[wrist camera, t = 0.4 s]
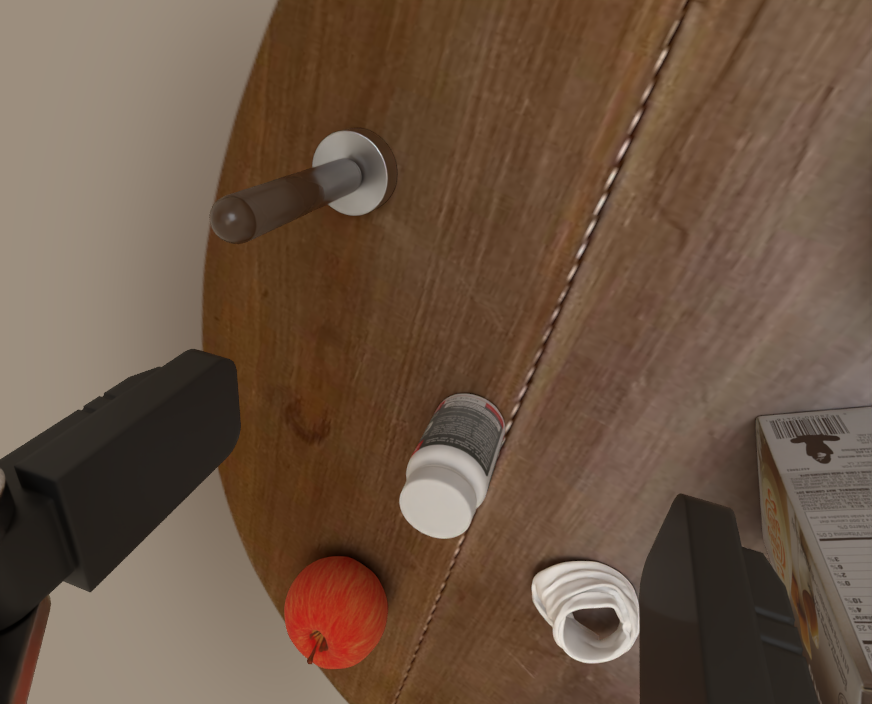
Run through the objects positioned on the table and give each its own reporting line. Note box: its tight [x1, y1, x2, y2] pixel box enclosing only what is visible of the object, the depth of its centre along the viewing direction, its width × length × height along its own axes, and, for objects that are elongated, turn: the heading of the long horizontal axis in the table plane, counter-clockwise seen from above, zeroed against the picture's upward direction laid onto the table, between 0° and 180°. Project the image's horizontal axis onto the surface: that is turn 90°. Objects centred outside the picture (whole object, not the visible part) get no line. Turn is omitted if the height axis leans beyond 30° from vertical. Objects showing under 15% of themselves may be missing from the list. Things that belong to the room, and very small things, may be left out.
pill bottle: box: [400, 393, 505, 539], centre depth 33 cm, size 5×5×8 cm
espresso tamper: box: [210, 128, 397, 244], centre depth 25 cm, size 4×4×13 cm
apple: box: [285, 556, 388, 669], centre depth 43 cm, size 8×8×8 cm
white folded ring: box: [531, 561, 640, 663], centre depth 38 cm, size 8×7×5 cm
